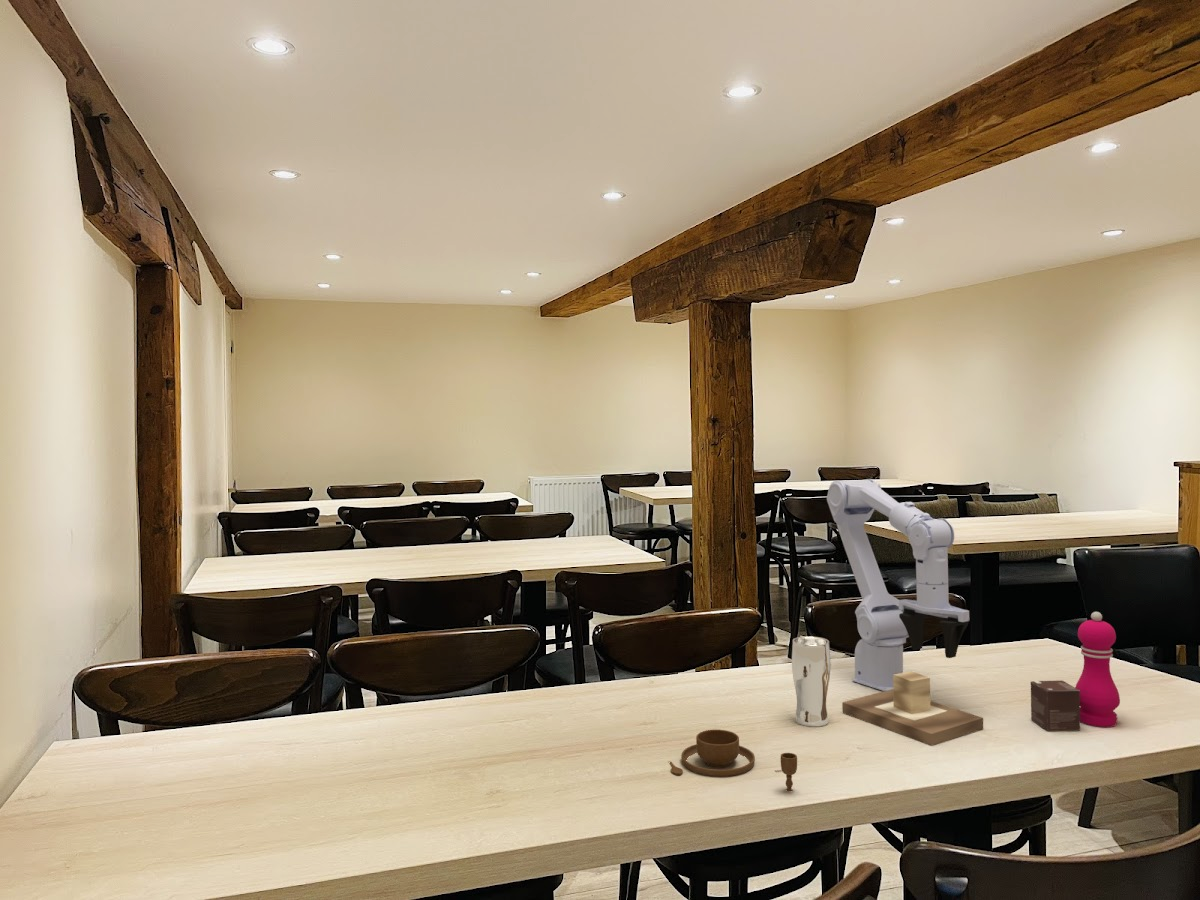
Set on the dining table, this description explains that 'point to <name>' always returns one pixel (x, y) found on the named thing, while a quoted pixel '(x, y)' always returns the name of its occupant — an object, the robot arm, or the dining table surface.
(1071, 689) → the box
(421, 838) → the dining table surface
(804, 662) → the beer glass
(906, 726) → the walnut board
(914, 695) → the maple block
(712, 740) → the place setting
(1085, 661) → the pepper mill
